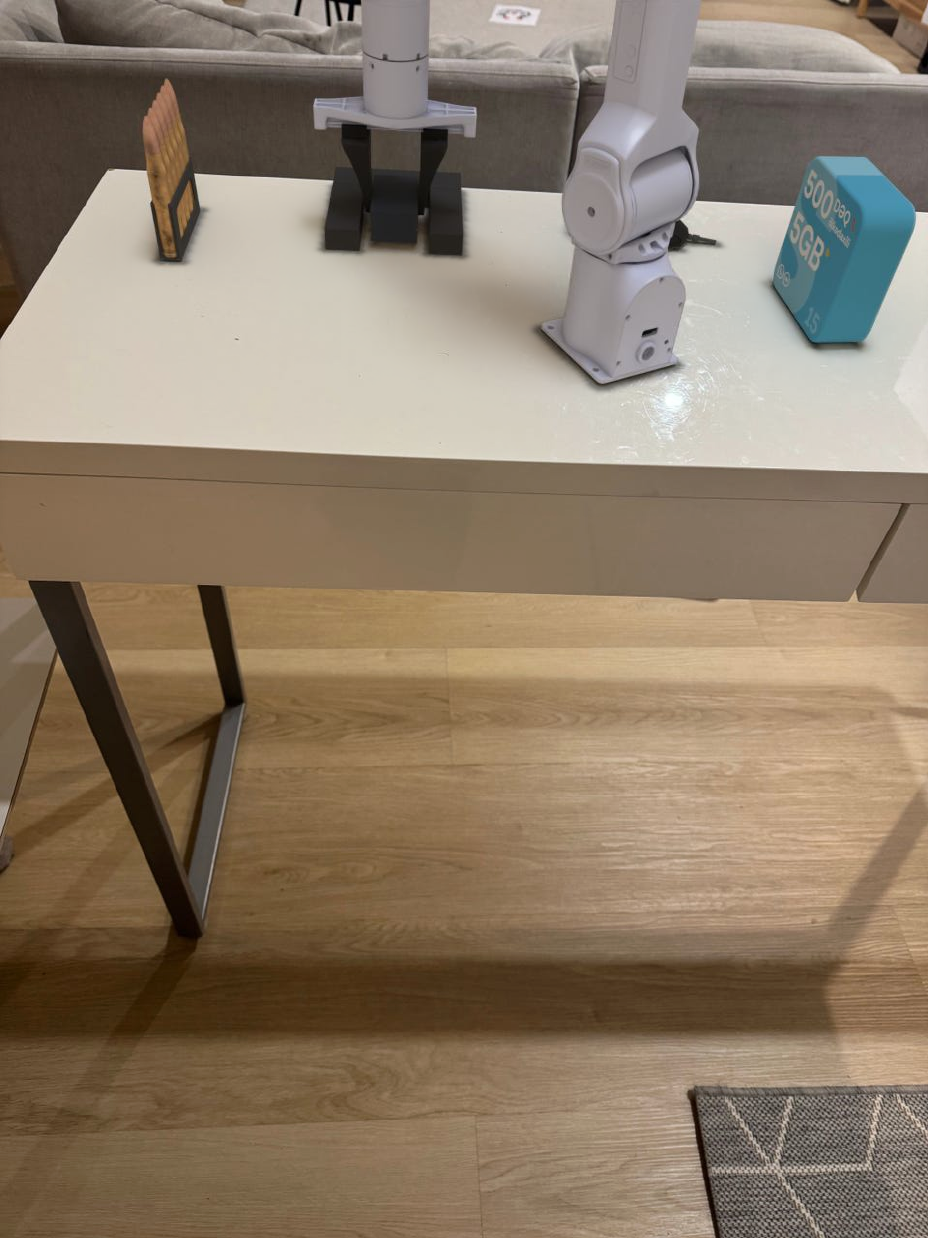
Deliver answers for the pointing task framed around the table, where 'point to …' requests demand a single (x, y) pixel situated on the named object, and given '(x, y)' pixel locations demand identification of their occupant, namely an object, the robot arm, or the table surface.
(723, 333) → the table surface
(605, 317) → the robot arm
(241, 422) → the table surface
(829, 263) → the data package
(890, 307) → the table surface
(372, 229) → the black rectangular block
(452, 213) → the black flat u-shaped piece
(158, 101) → the ammunition clip
